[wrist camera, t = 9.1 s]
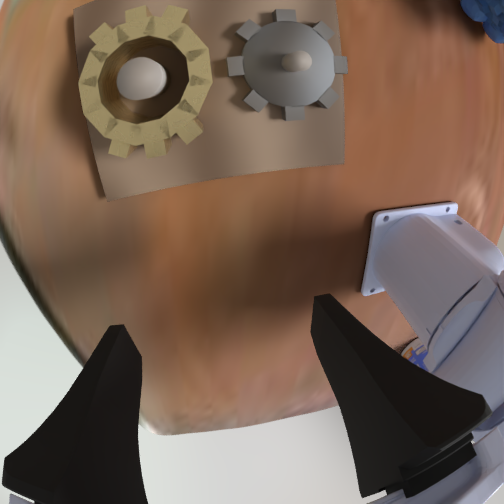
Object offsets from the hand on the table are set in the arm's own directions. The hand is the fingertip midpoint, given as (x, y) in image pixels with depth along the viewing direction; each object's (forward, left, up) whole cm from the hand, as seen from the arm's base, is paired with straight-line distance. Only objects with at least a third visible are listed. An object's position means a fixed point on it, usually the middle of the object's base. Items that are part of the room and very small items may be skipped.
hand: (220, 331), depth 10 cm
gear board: (-1, -9, -9) cm, 13 cm away
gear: (+2, -9, -8) cm, 12 cm away
